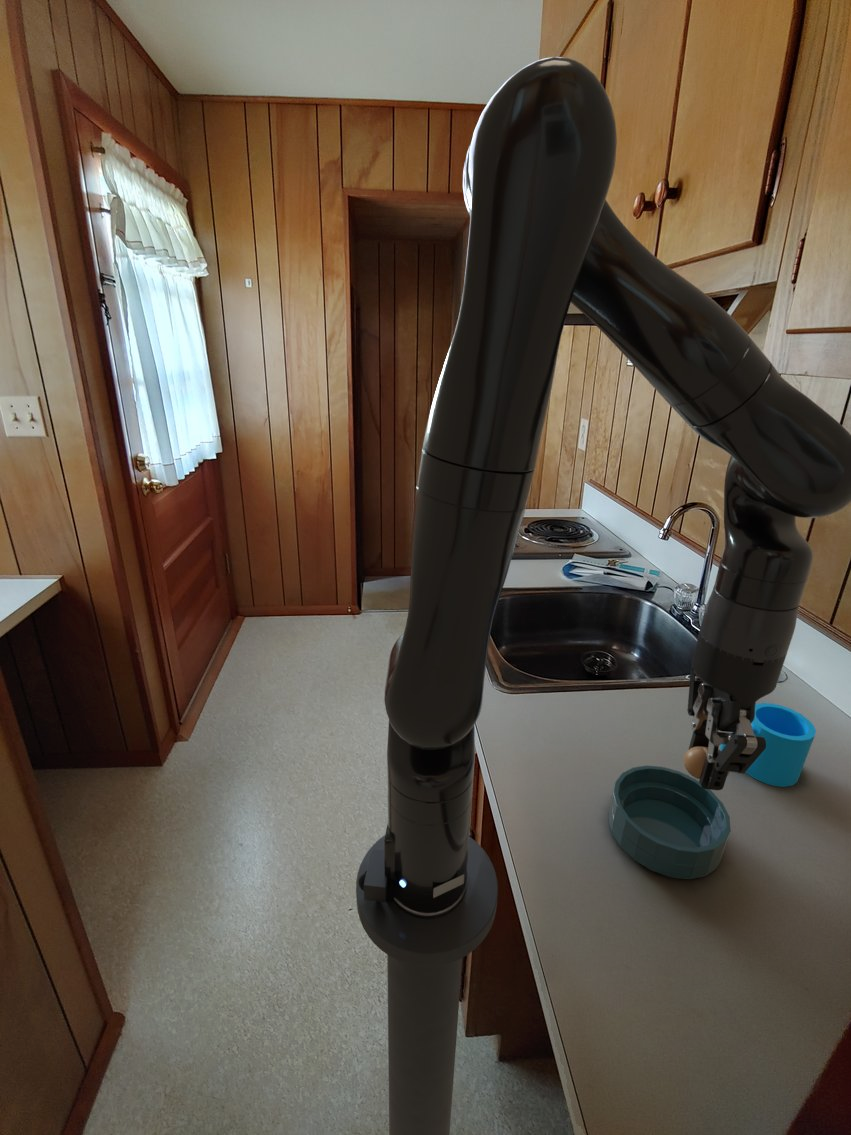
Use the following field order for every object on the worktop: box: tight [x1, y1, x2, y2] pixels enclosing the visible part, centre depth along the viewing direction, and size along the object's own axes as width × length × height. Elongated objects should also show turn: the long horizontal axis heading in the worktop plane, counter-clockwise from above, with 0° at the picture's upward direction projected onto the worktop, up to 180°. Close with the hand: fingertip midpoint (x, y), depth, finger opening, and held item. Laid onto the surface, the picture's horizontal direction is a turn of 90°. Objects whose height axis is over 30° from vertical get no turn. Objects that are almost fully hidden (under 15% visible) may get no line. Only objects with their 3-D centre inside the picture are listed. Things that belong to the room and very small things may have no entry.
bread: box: [683, 747, 731, 780], centre depth 59 cm, size 5×3×3 cm
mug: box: [719, 702, 817, 788], centre depth 79 cm, size 12×8×8 cm
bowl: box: [607, 765, 732, 880], centre depth 68 cm, size 13×13×5 cm
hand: (704, 772), depth 60 cm, fingers closed on bread, 3 cm apart
